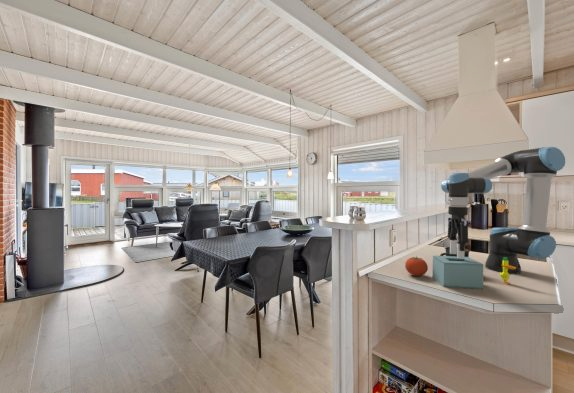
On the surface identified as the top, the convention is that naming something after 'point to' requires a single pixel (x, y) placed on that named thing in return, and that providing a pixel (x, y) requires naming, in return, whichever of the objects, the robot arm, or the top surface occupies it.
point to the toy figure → (505, 268)
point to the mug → (454, 254)
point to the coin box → (458, 272)
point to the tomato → (416, 266)
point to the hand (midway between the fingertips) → (456, 255)
